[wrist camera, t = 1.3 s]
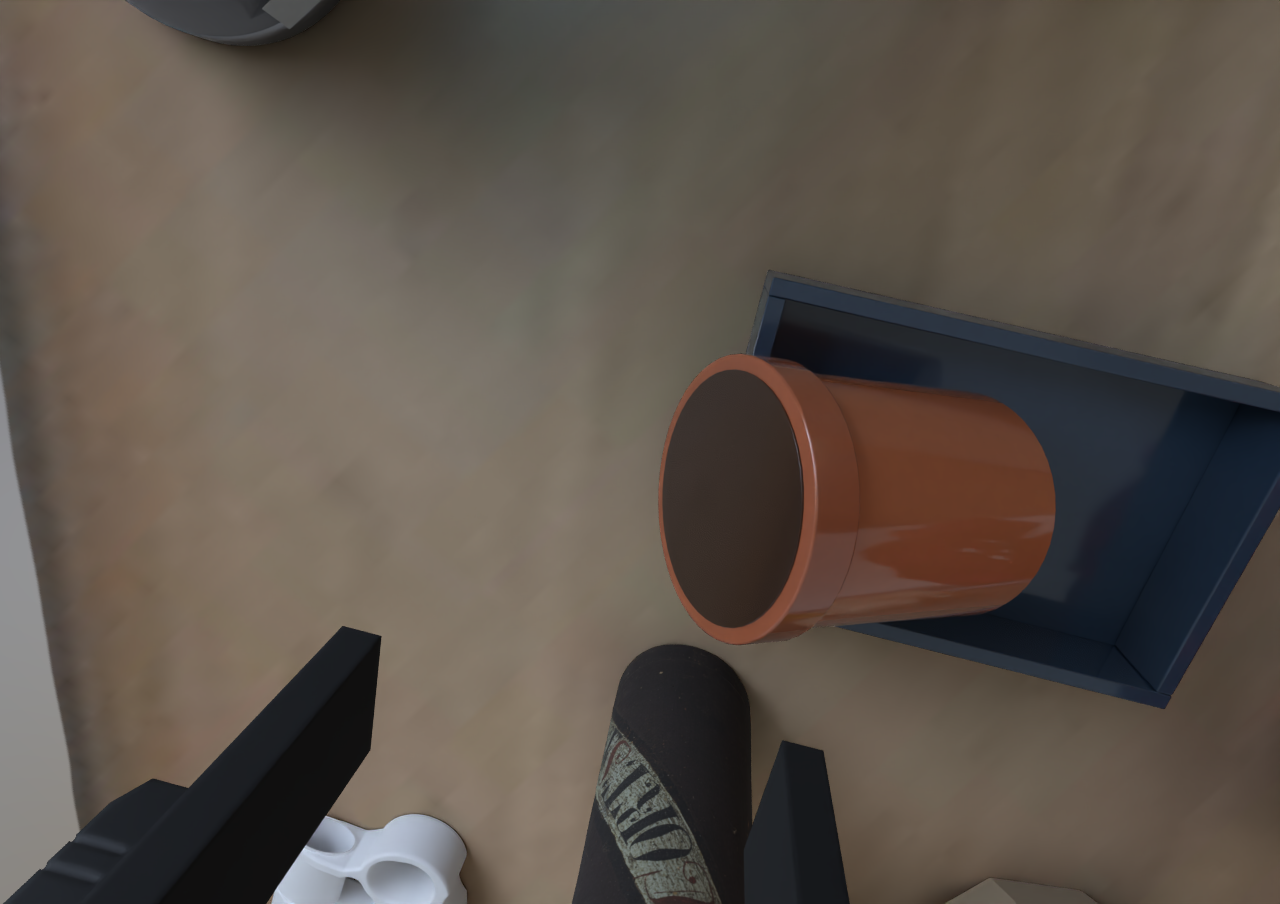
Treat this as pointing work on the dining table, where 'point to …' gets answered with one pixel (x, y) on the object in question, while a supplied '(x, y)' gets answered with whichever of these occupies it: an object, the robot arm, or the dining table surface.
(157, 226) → the dining table surface
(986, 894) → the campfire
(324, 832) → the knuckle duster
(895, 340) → the tray
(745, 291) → the dining table surface
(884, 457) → the flower pot
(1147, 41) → the dining table surface
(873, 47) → the dining table surface
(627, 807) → the container
